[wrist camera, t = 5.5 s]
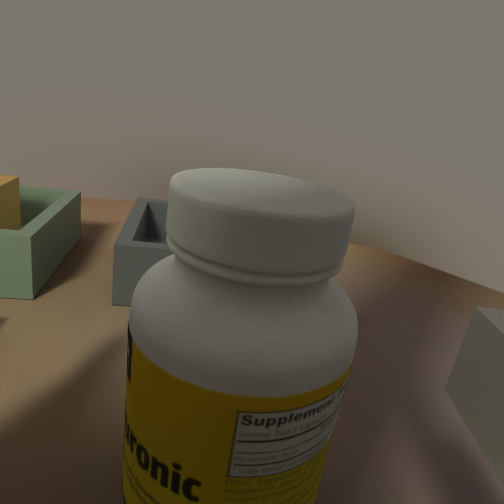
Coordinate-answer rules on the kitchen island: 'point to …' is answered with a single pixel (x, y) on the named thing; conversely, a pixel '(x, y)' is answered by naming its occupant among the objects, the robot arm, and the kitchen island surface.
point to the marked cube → (10, 203)
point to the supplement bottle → (239, 343)
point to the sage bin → (38, 240)
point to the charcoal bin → (139, 247)
